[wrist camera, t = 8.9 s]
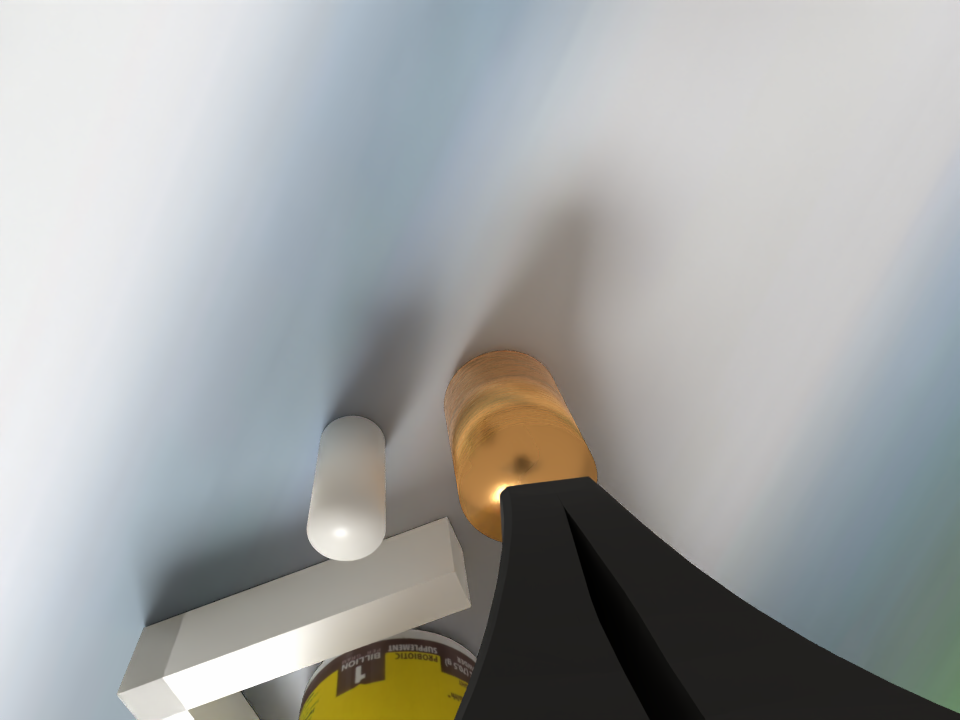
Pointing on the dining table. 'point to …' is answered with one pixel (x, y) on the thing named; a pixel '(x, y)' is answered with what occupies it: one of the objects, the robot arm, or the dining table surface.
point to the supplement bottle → (391, 680)
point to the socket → (292, 626)
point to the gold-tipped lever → (508, 433)
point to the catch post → (349, 490)
